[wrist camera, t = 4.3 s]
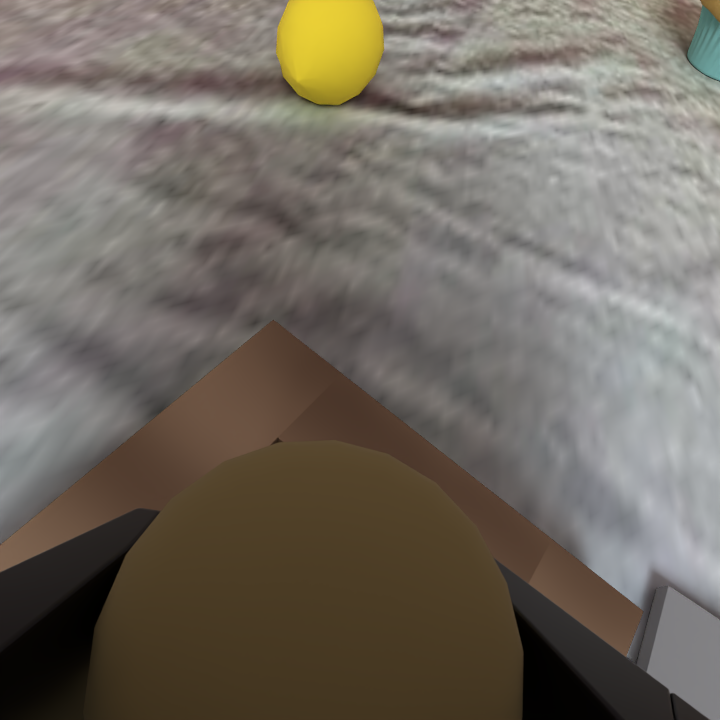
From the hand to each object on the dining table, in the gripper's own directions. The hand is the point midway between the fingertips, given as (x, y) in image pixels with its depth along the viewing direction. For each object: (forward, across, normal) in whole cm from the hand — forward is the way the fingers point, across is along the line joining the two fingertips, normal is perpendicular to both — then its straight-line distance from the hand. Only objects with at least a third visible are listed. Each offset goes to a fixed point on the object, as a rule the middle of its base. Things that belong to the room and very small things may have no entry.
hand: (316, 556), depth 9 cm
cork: (+4, 0, +6) cm, 8 cm away
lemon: (+24, +2, -13) cm, 28 cm away
